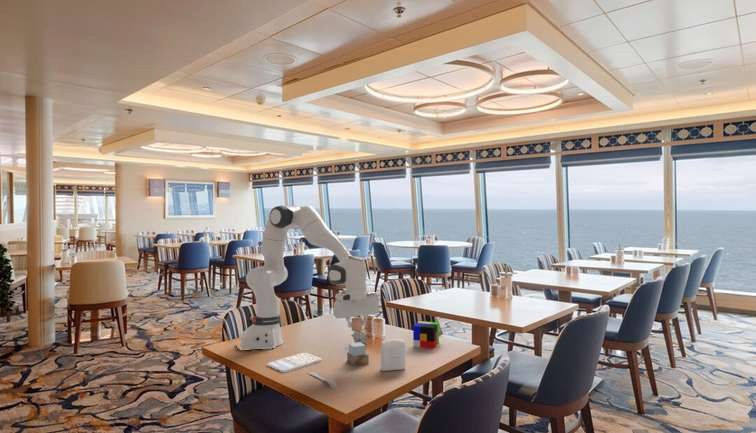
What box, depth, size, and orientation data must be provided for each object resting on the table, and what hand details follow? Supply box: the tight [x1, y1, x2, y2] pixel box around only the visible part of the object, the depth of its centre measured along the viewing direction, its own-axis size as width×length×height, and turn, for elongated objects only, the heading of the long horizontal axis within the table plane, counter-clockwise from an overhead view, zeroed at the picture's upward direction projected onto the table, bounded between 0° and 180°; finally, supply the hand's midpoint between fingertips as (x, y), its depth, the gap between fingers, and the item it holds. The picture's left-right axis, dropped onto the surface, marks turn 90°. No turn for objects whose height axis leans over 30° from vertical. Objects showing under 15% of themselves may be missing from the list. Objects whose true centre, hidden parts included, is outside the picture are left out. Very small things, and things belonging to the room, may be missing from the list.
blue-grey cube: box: [348, 342, 367, 356], centre depth 187 cm, size 6×6×4 cm
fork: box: [307, 371, 339, 389], centre depth 168 cm, size 3×21×3 cm, turn 36°
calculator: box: [266, 352, 323, 373], centre depth 187 cm, size 13×20×2 cm, turn 135°
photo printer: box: [380, 338, 406, 372], centre depth 179 cm, size 10×4×12 cm, turn 103°
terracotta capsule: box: [350, 316, 363, 332], centre depth 187 cm, size 5×5×5 cm
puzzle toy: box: [412, 320, 440, 349], centre depth 212 cm, size 10×10×10 cm
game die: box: [350, 327, 370, 345], centre depth 214 cm, size 9×8×10 cm
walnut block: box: [346, 351, 370, 367], centre depth 187 cm, size 7×7×4 cm
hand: (356, 326), depth 187 cm, fingers closed on terracotta capsule, 5 cm apart
